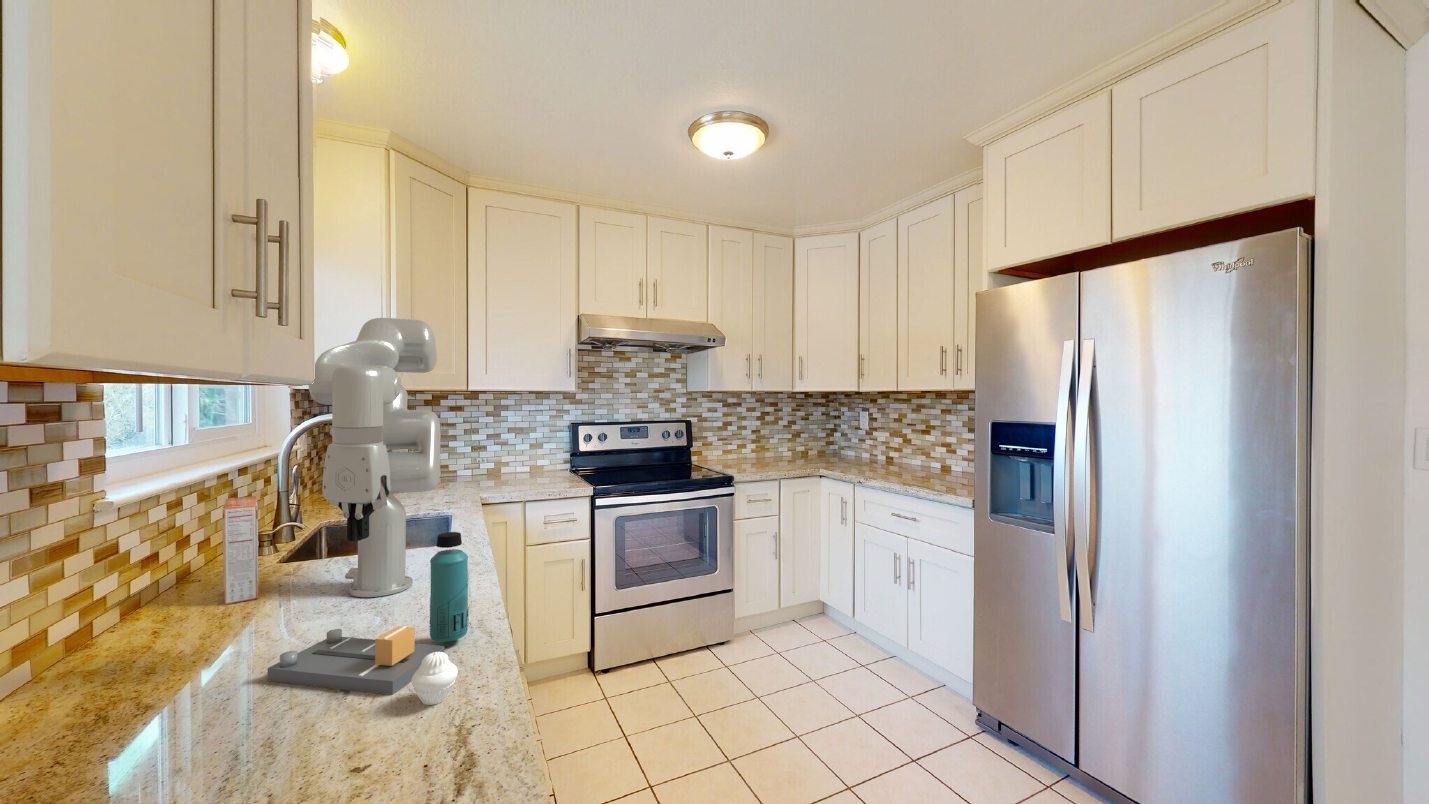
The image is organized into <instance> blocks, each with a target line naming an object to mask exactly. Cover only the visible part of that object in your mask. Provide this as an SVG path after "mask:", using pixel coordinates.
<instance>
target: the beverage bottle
mask: <svg viewBox="0 0 1429 804" xmlns="http://www.w3.org/2000/svg"><path fill="white" fill-rule="evenodd" d="M436 538H437V540H436V547H437V548H443V549H444V550H441V551H440V550H439V551H438V552H437V553H436V554H434V555H433V556H432V557H431V558H430V561H429V563H430V595H429V613H428V614H429V624H428V625H429V628H428V629H429V630H428V631H429V636H430V638H431V640H432V641H434V642H438V643H439V642H440V643H444V642H445V643H446V642H452V641H456V640H458V639H462V638H463V637H465V636H466V635H467V633H468V630H469V619H470V618H469V610H470V609H469V601H468V600H469V597H468V595H469V591H468V590H469V579H470V577H469V576H470V575H469V570H468V568H469V566H468V559H469V556H468V554H467V553H466V552H465V551H464V550H461V549H458V548H457V549H456V547H459V546H461V545H462V544H463V543H462V533H461V532H458V531H447V532H442V533H439V534H438V535H437V537H436ZM454 547H455V548H454ZM446 548H447V549H446ZM448 548H451V549H448ZM452 548H453V549H452Z"/></svg>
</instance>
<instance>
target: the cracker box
mask: <svg viewBox="0 0 1429 804" xmlns="http://www.w3.org/2000/svg"><path fill="white" fill-rule="evenodd" d="M257 497H258V496H257V495H254V496H241V497H230V498H225V502H224V505H223V506H224V507H223V512H222V514H223V515H222V565H223V566H222V567H223V568H222V569H223V571H222V572H223V601H224V602H223V603H224V605H232V604H236V603H242V602H248V601H253V600H258V599H259V509H258V499H257Z"/></svg>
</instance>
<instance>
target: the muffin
mask: <svg viewBox="0 0 1429 804" xmlns="http://www.w3.org/2000/svg"><path fill="white" fill-rule="evenodd" d="M421 664H422V665H421V666H420V667H419V669H418V670H417V671H416V672H415V673H414V675H413V677H412V680H411V682H410V683H411V686H412V687H413V690H414V692H415V694H416V695H417V697H418V698H419V700H420V701H421V702H422V704H423V705H426V706H431V705H432V706H435V705H438V704H441V703H442V702H444V701H445V700H446V699H448V697H449V694H450V693H451V691H452V689H453V687H454V684H455V682H456V679H457V676H458V675H459V671H458V667H457V666H456V664H454V663H453V662H451V661H450V659H449V656H448V654H447V653H445V651H444V652H435V653H434V652H433V653H430V654H429V655H427V656H425V658H424V659H423V660H422V663H421Z"/></svg>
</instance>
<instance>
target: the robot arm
mask: <svg viewBox="0 0 1429 804" xmlns="http://www.w3.org/2000/svg"><path fill="white" fill-rule="evenodd" d="M437 355H438V353H437V346H436V340H435V334H434V332H433V330H432V328H431V326H430V325H429V324H428V323H427V322H426V321H424V320H420V319H406V318H393V317H376V318H371V319H369V320H367V321H366V322H365V323H363V325H362V327H361V329H360V330H359V333H358V335H357V338H356V340H353V341H350V342H348V343H344V344H341V345H338V346H334V347H332V348H329V349H327V350H325V351H324V352H323V353H321V354H320V355H319V356H318V357H317V359H316V361H315V363H314V364H315V379H314V383H313V384H310V385H309V384H308V392H309V395H310V396H311V398H312V399H313V400H314V401H315V402H317V404H321V405H328V406H329V405H331V406H332V407H331V408H332V412H331V413H332V420H331V422H332V423H331V424H332V428H331V429H330V430H329V435H330V436H331V437H332V439H331V440H332V441H331V442H332V443H329V444H328V445H327V448H326V453H325V458H324V464H323V472H322V489H321V490H322V498H323V499H325V500H326V501H329V504H330V505H331V506H335V507H336V508H337V507H338V508H339V509H340V510H341V512H342V516H343V518H344V519H346V540H347V542H356V543H357V567H350V568H349V569H348V572H346V573H345V575H344V579H347V580H353V584H352V585H350V586H349V594H350V595H351V596H353V597H358V598H375V597H377V598H378V597H385V596H391V595H394V594H398V593H400V592H403V591H406V590H408V589H410V588H411V587H412V585H413V581H414V580H413V578H412V577H410V576H409V575H406V557H407V555H406V554H407V553H406V549H407V548H406V547H407V546H406V544H407V542H406V541H407V539H406V538H407V536H406V535H407V530H406V529H407V512H406V510H405V507H404V505H403V503H401V502H400V501H399V499H397V497H396V496H395V494H400V493H401V494H402V493H421V492H430V491H432V490H434V489H436V488H437V487H438V485H439V481H440V476H441V439H442V438H441V437H442V435H441V432H442V431H441V422H440V419H439V417H438V415H437V413H435V412H434V411H432V410H428V409H427V410H426V409H408V397H409V396H408V392H407V390H406V389H405V387H404V385H402V381H401V377H400V375H399V374H398V373H414V374H415V373H416V374H417V373H418V374H423V373H430V372H432V371H433V370H434V369H435V367H436V364H437V357H438V356H437ZM414 449H415V450H417V451H404V452H403V451H391V452H389V451H388V450H414ZM405 589H406V590H405Z"/></svg>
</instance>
